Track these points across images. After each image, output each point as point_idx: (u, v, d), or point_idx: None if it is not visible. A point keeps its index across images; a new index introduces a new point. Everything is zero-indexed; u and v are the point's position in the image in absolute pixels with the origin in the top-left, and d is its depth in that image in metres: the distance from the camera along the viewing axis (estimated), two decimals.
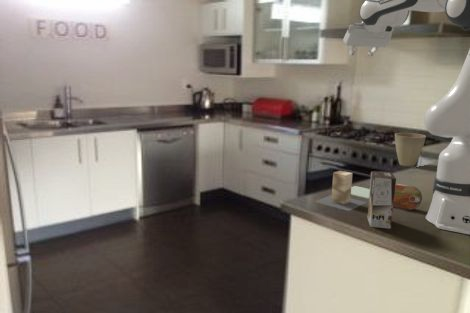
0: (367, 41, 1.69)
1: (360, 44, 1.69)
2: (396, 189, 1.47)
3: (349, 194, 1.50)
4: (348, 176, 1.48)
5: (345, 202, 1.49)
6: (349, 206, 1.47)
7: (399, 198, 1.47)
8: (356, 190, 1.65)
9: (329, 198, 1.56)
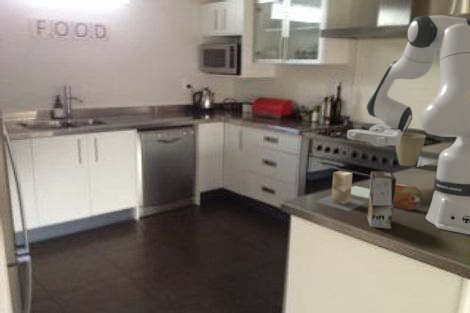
0: (371, 132, 1.63)
1: (362, 131, 1.64)
2: (396, 189, 1.47)
3: (349, 194, 1.50)
4: (348, 176, 1.48)
5: (345, 202, 1.49)
6: (349, 206, 1.47)
7: (399, 198, 1.47)
8: (356, 190, 1.65)
9: (329, 198, 1.56)
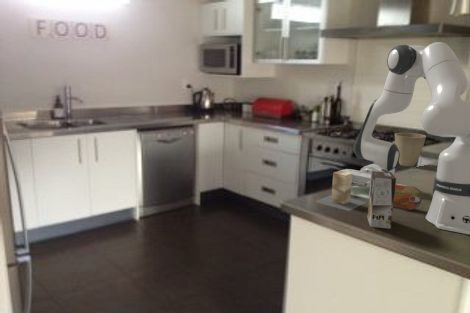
0: (361, 174, 1.63)
1: (353, 173, 1.63)
2: (396, 189, 1.47)
3: (349, 194, 1.50)
4: (348, 176, 1.48)
5: (345, 202, 1.49)
6: (349, 206, 1.47)
7: (399, 198, 1.47)
8: (356, 190, 1.65)
9: (329, 198, 1.56)
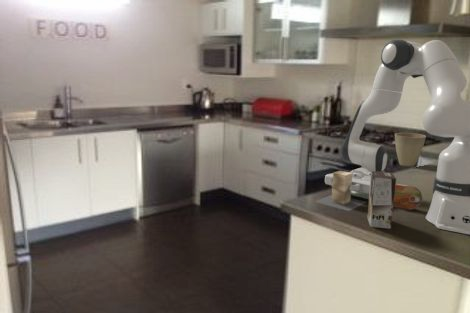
0: None
1: None
2: (396, 189, 1.47)
3: (349, 194, 1.50)
4: (348, 176, 1.48)
5: (345, 202, 1.49)
6: (349, 206, 1.47)
7: (399, 198, 1.47)
8: None
9: (329, 198, 1.56)
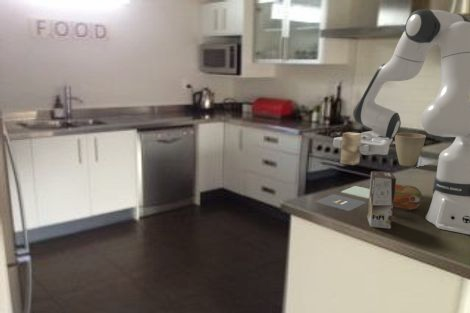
0: None
1: None
2: (396, 189, 1.47)
3: (358, 155, 1.50)
4: (357, 136, 1.48)
5: (354, 162, 1.49)
6: (349, 206, 1.47)
7: (399, 198, 1.47)
8: (356, 190, 1.65)
9: (329, 198, 1.56)
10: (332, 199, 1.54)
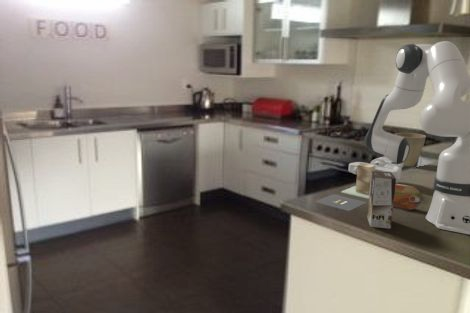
0: None
1: None
2: (396, 189, 1.47)
3: None
4: (372, 168, 1.59)
5: None
6: (349, 206, 1.47)
7: (399, 198, 1.47)
8: None
9: (329, 198, 1.56)
10: (332, 199, 1.54)
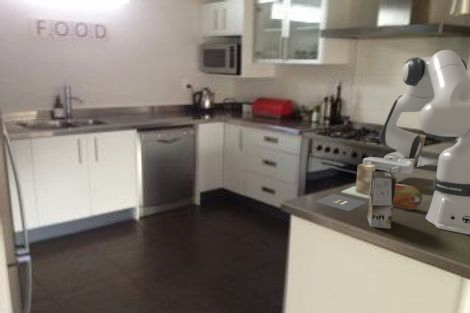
0: (385, 161, 1.76)
1: (378, 160, 1.76)
2: (396, 189, 1.47)
3: None
4: (372, 168, 1.59)
5: None
6: (349, 206, 1.47)
7: (399, 198, 1.47)
8: None
9: (329, 198, 1.56)
10: (332, 199, 1.54)
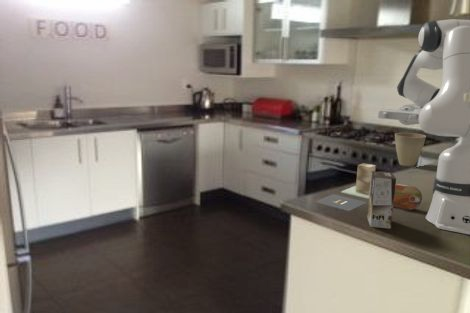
0: None
1: (393, 110, 1.71)
2: (396, 189, 1.47)
3: None
4: (372, 168, 1.59)
5: None
6: (349, 206, 1.47)
7: (399, 198, 1.47)
8: None
9: (329, 198, 1.56)
10: (332, 199, 1.54)
